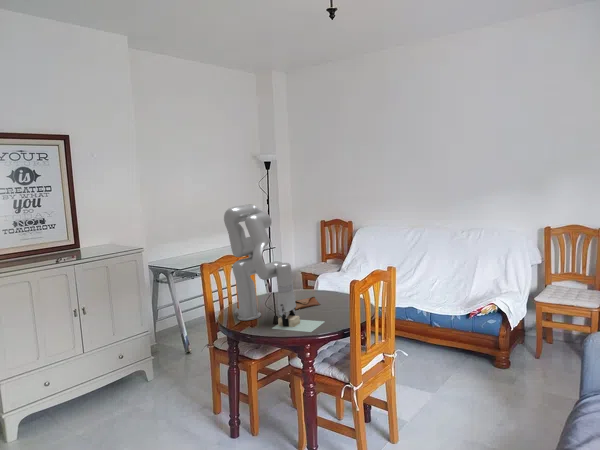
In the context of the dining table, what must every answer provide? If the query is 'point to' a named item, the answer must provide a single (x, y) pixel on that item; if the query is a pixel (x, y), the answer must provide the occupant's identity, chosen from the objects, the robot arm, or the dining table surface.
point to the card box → (290, 321)
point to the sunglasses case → (306, 303)
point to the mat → (302, 326)
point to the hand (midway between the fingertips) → (289, 323)
